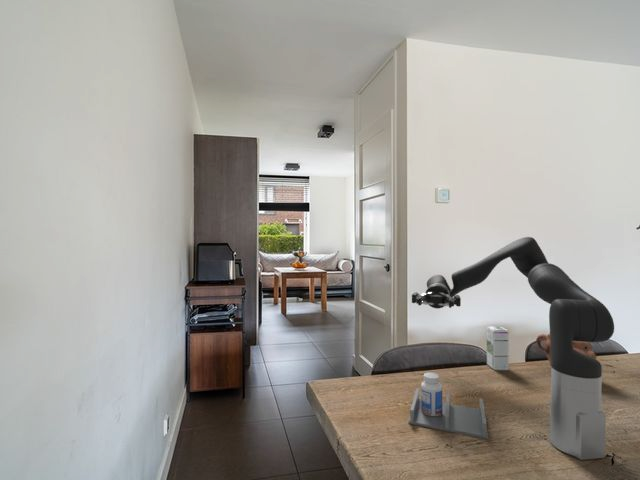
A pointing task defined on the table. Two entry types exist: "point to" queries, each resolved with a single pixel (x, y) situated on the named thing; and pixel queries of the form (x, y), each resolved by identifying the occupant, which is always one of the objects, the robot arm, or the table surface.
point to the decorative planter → (577, 345)
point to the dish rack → (451, 418)
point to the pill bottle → (431, 395)
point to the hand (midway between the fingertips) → (434, 303)
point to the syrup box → (497, 348)
